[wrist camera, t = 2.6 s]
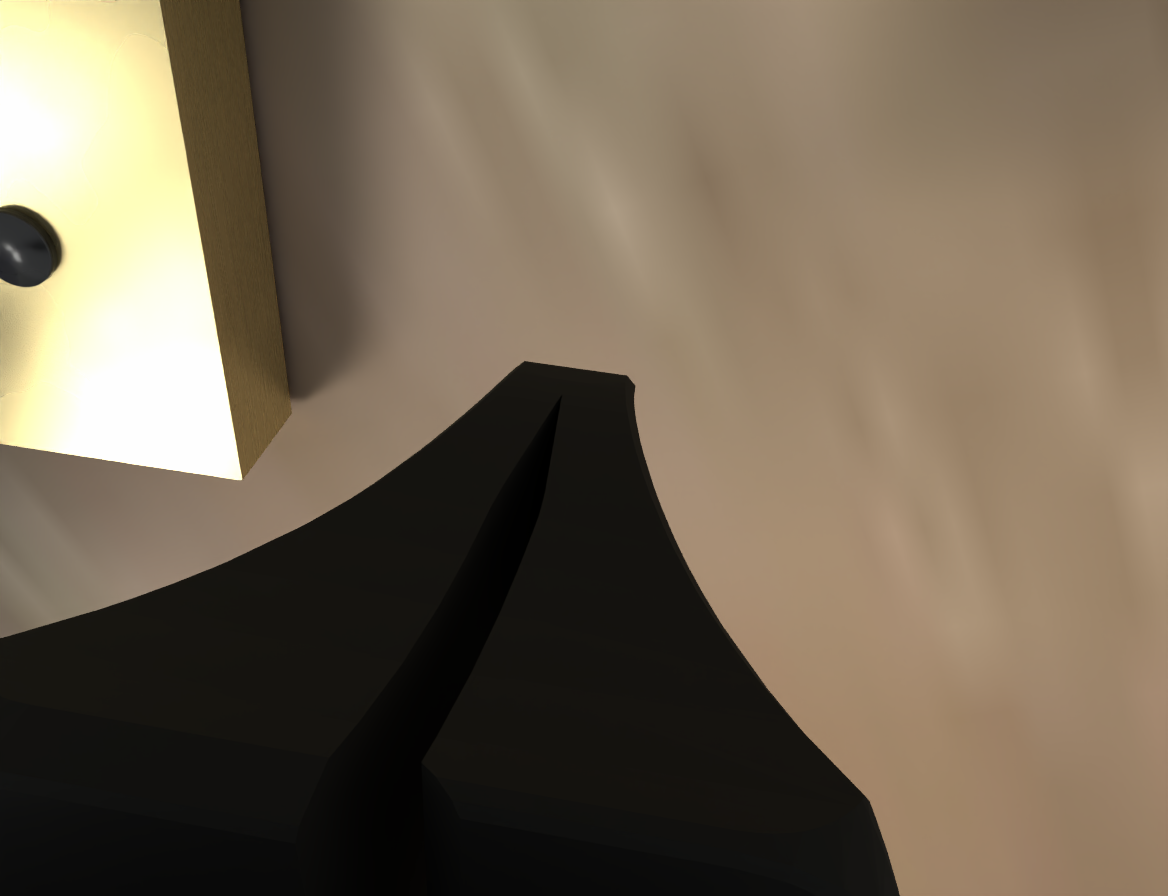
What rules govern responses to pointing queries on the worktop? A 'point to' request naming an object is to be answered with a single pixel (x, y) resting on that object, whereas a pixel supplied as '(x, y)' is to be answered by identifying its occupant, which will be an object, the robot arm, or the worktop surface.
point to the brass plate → (135, 238)
